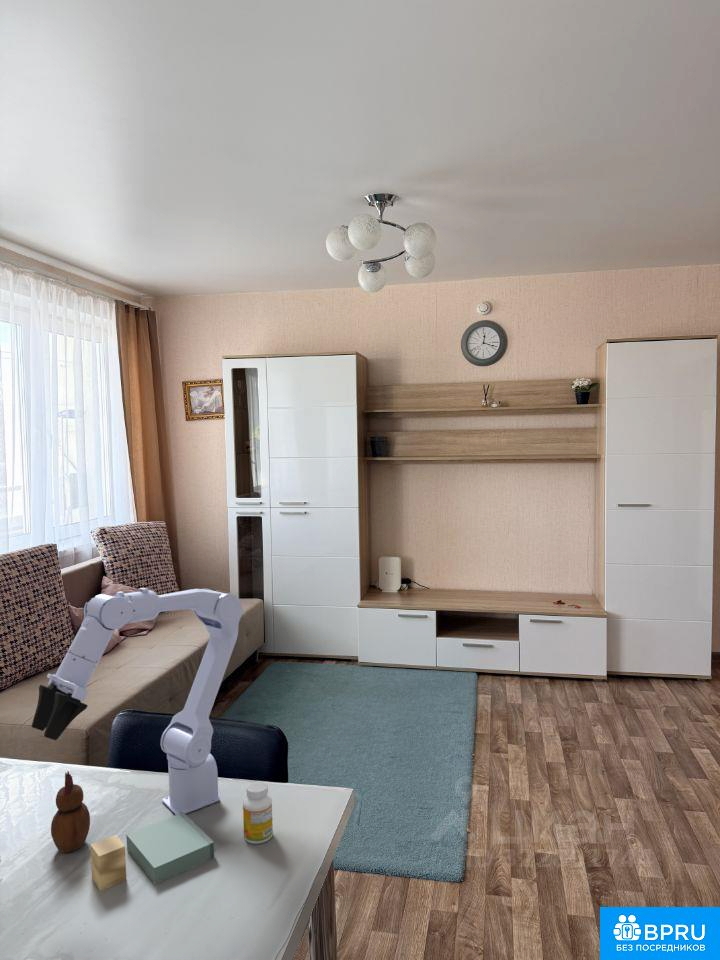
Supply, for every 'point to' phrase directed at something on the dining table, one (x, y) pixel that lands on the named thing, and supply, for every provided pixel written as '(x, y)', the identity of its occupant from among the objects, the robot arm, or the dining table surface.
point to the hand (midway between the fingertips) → (43, 733)
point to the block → (108, 862)
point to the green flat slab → (170, 847)
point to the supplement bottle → (257, 813)
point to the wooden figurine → (70, 817)
